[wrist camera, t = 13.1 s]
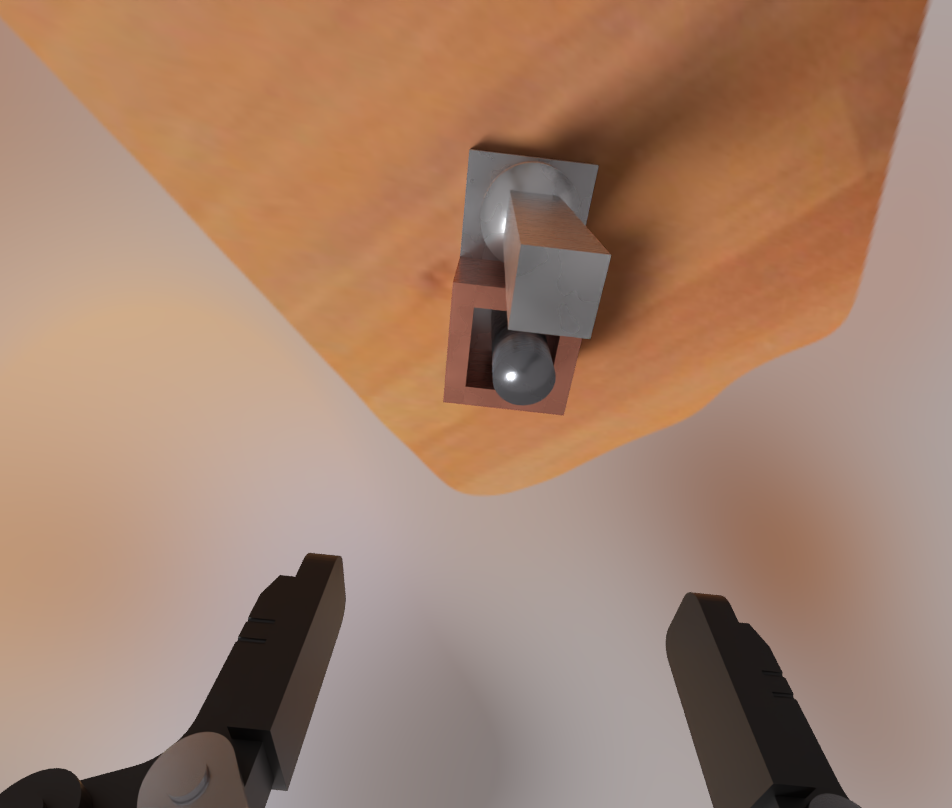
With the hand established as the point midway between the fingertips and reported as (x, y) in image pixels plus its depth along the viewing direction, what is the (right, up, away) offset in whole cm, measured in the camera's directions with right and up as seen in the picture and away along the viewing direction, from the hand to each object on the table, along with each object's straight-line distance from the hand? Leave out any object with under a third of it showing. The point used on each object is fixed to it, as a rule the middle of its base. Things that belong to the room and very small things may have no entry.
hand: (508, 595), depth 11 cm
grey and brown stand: (+2, +12, +19) cm, 23 cm away
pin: (+2, +10, +19) cm, 22 cm away
